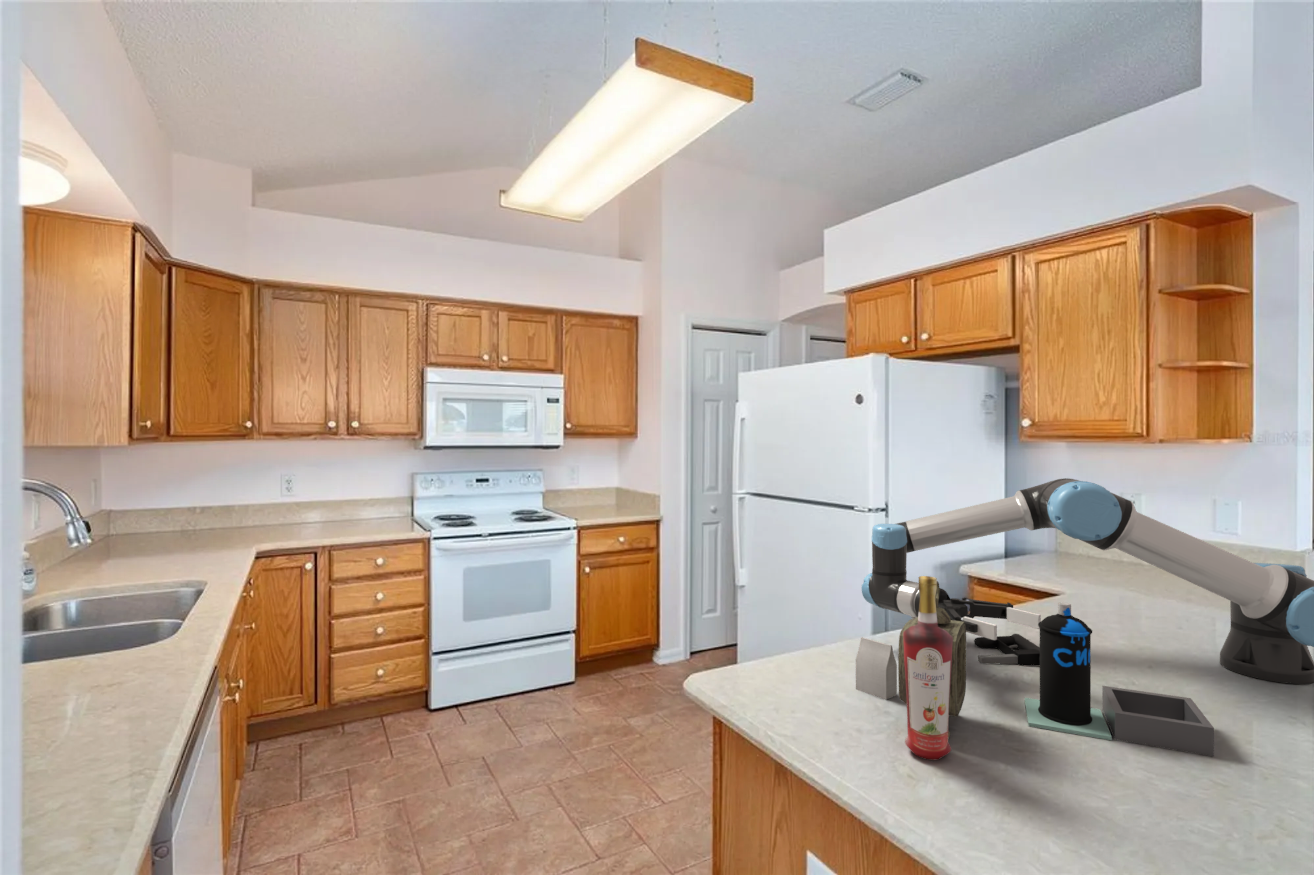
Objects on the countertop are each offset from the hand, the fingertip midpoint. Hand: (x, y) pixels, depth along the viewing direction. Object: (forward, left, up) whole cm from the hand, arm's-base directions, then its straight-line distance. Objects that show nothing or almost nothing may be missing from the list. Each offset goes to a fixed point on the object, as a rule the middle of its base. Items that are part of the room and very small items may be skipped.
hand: (1018, 627), depth 124 cm
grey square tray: (-20, +4, -14) cm, 25 cm away
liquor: (+14, +29, -14) cm, 35 cm away
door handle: (+1, -27, -15) cm, 30 cm away
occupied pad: (-7, +5, -14) cm, 17 cm away
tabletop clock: (+14, +17, -14) cm, 26 cm away
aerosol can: (-7, +5, -14) cm, 16 cm away
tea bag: (+25, +7, -14) cm, 30 cm away
